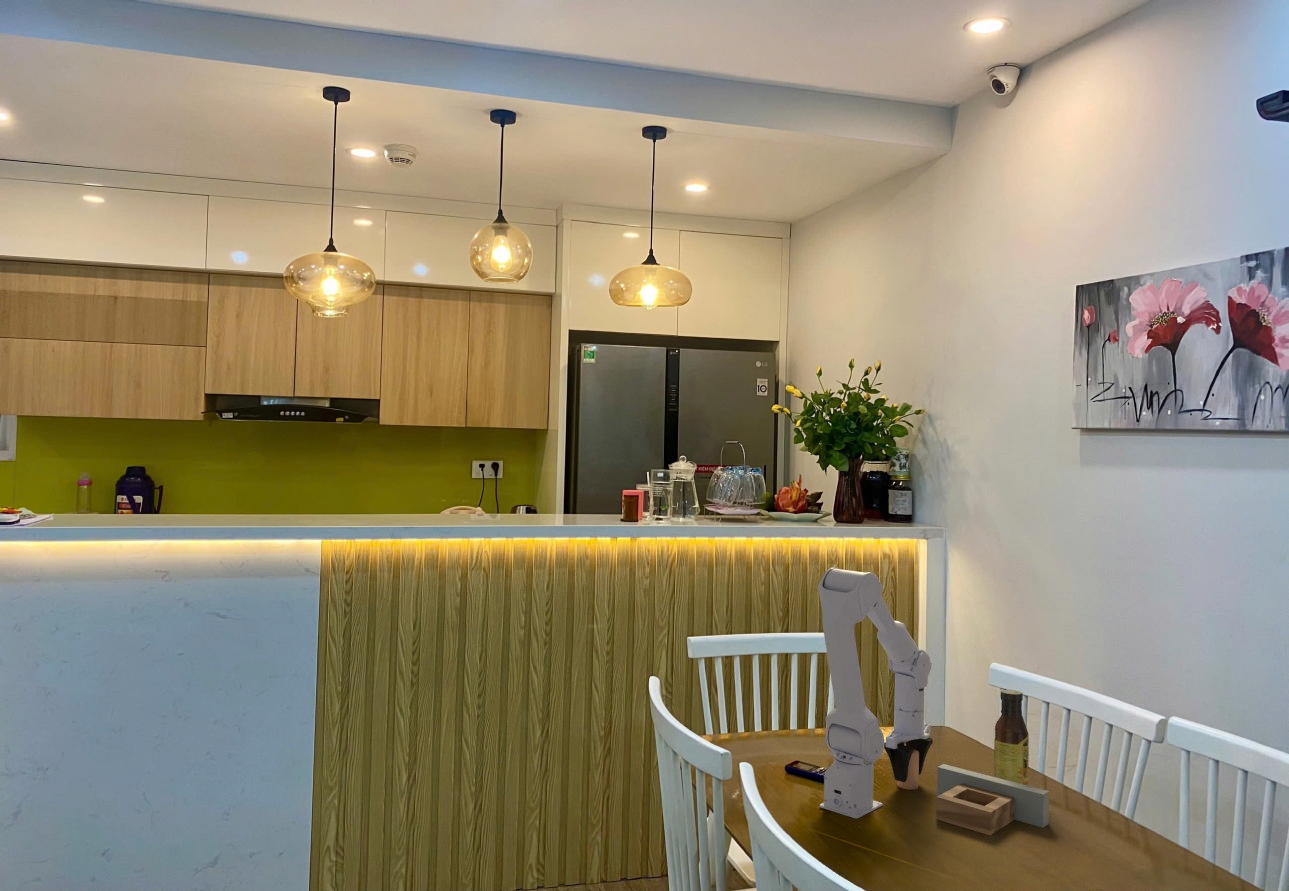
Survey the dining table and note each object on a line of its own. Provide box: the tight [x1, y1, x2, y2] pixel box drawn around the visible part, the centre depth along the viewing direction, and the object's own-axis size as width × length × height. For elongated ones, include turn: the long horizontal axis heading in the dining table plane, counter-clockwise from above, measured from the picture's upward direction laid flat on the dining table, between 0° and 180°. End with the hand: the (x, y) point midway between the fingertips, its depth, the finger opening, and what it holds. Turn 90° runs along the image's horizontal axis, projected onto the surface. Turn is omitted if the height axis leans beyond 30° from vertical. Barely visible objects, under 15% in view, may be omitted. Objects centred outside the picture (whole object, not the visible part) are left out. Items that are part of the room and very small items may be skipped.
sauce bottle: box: [993, 689, 1030, 786], centre depth 184 cm, size 7×6×20 cm
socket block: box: [935, 784, 1015, 836], centre depth 171 cm, size 10×10×4 cm
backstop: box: [936, 763, 1050, 829], centre depth 175 cm, size 2×20×6 cm, turn 46°
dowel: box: [896, 750, 920, 791], centre depth 187 cm, size 4×4×7 cm
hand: (907, 776), depth 187 cm, fingers open, 5 cm apart
